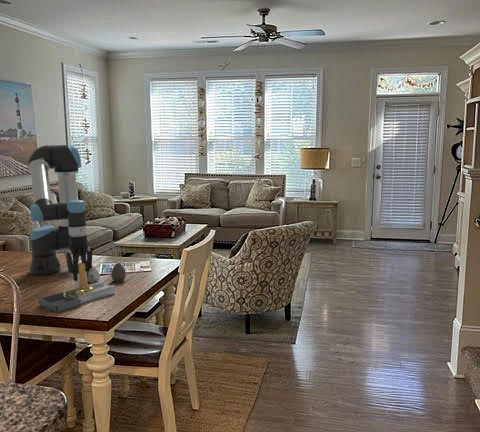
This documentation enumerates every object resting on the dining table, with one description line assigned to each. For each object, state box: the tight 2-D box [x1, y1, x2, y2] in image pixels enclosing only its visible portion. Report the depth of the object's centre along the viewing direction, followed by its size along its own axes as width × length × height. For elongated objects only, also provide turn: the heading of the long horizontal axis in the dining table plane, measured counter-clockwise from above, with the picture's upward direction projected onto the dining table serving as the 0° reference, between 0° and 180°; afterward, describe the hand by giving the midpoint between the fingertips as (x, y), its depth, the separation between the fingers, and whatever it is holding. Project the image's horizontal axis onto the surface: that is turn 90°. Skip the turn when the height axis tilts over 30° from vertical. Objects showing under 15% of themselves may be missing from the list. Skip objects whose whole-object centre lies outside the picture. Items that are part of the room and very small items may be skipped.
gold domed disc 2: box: [85, 286, 95, 293], centre depth 206 cm, size 4×4×2 cm
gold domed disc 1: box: [75, 289, 85, 296], centre depth 202 cm, size 4×4×2 cm
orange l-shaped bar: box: [74, 262, 87, 289], centre depth 212 cm, size 6×3×13 cm, turn 50°
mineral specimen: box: [87, 265, 101, 284], centre depth 228 cm, size 16×7×7 cm, turn 25°
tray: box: [38, 291, 82, 314], centre depth 195 cm, size 14×11×3 cm
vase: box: [110, 262, 127, 283], centre depth 228 cm, size 7×7×9 cm
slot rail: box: [65, 281, 116, 305], centre depth 206 cm, size 10×18×4 cm, turn 140°
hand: (81, 286), depth 213 cm, fingers closed on orange l-shaped bar, 3 cm apart
